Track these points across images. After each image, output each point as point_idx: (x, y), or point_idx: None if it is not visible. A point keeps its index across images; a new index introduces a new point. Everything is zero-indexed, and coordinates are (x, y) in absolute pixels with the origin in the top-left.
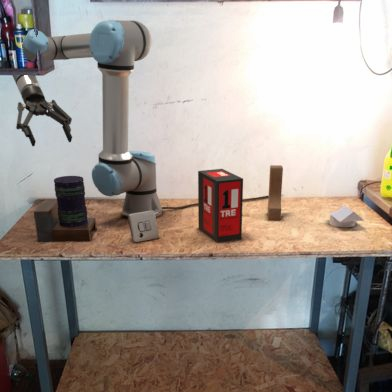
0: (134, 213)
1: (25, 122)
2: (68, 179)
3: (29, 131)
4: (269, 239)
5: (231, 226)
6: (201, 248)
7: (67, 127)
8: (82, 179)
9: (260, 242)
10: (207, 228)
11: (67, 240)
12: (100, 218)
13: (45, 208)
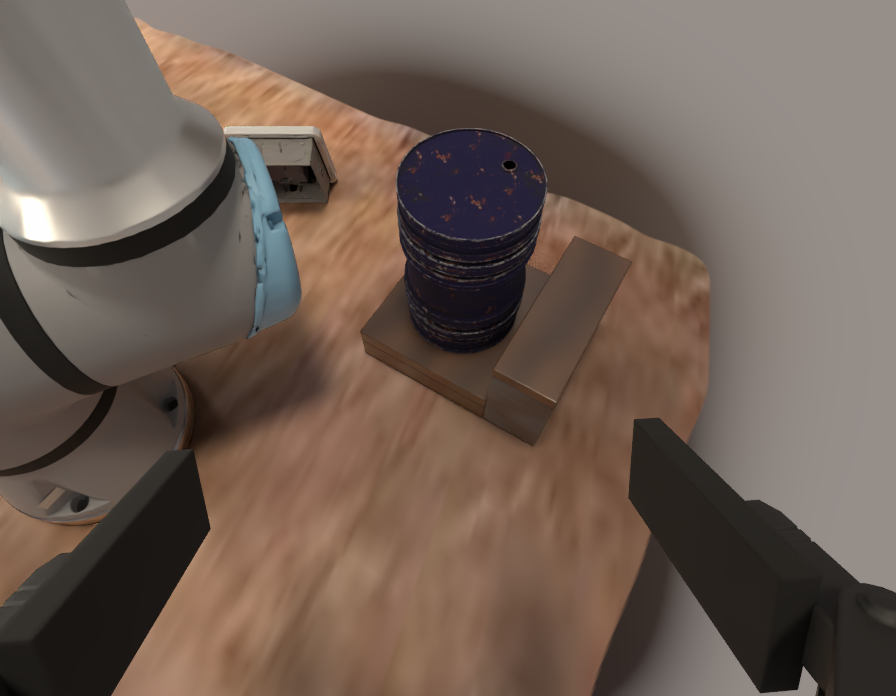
0: (298, 129)
1: (888, 653)
2: (472, 183)
3: (738, 496)
4: None
5: None
6: (222, 84)
7: (84, 546)
8: (414, 146)
9: None
10: None
11: None
12: (284, 471)
13: (578, 274)
